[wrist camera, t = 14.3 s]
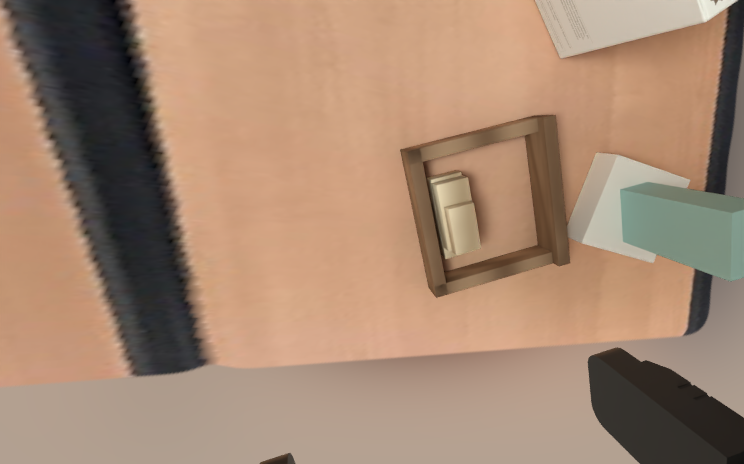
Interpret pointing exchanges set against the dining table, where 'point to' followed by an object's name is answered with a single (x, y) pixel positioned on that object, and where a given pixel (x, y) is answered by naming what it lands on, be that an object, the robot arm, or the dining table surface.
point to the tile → (612, 202)
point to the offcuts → (453, 214)
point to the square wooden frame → (544, 195)
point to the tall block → (686, 227)
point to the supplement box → (619, 20)
